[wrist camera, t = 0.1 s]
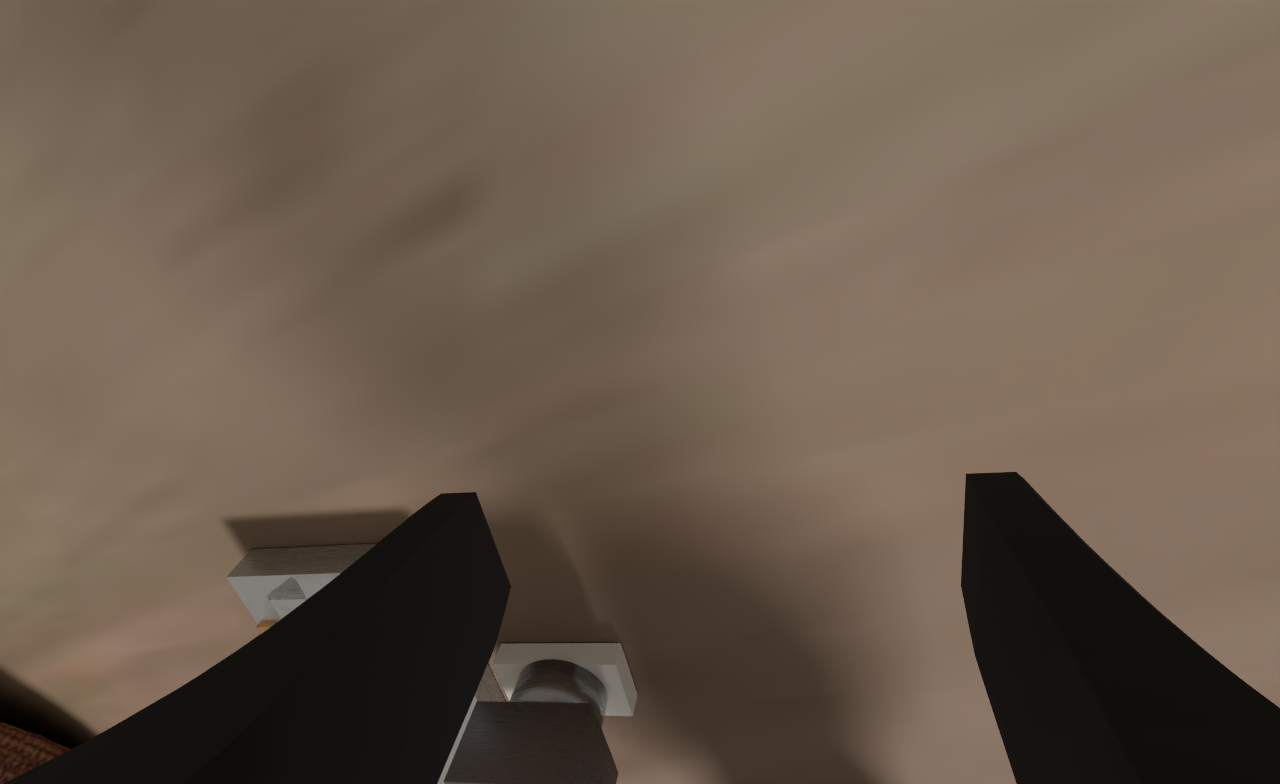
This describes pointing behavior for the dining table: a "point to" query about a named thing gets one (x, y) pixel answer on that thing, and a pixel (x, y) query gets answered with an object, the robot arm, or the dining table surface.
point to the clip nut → (539, 732)
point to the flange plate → (296, 575)
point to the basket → (23, 751)
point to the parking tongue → (591, 656)
